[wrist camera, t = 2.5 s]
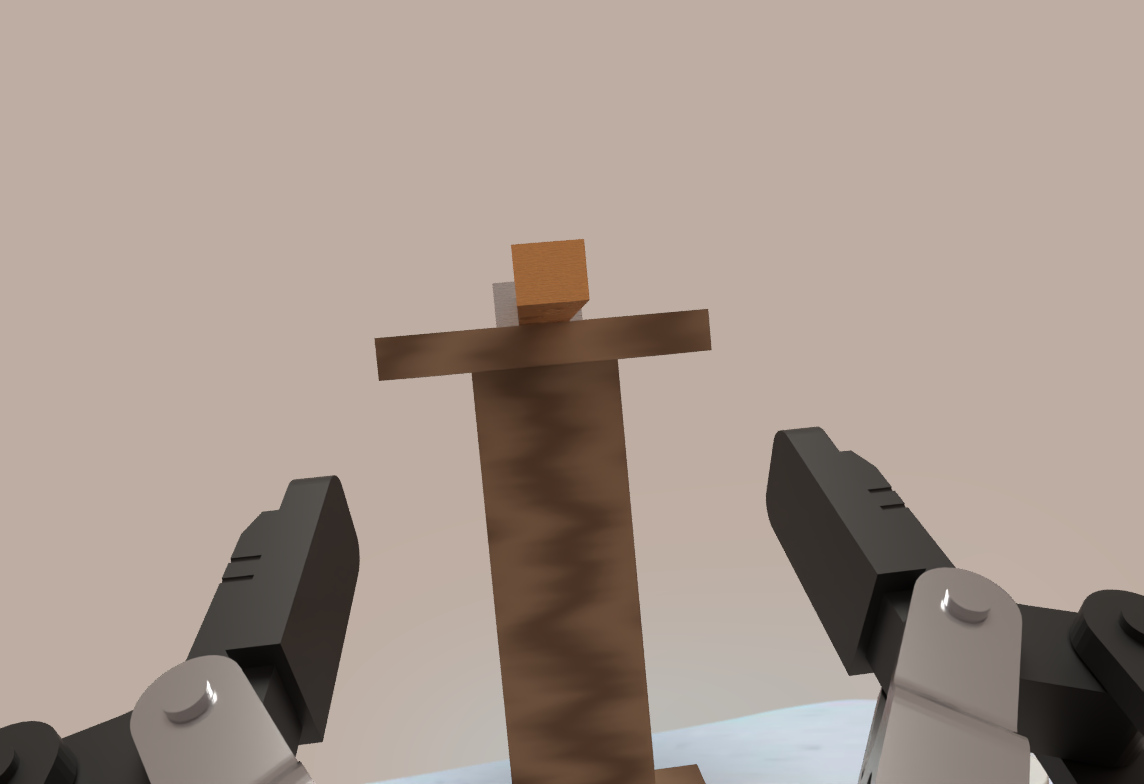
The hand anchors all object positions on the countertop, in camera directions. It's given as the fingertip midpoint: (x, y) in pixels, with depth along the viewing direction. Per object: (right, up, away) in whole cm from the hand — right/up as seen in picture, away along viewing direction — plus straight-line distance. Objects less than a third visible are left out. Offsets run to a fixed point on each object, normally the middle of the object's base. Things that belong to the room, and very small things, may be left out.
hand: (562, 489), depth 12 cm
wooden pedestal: (+1, -26, +27) cm, 38 cm away
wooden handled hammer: (-1, +5, +21) cm, 21 cm away
